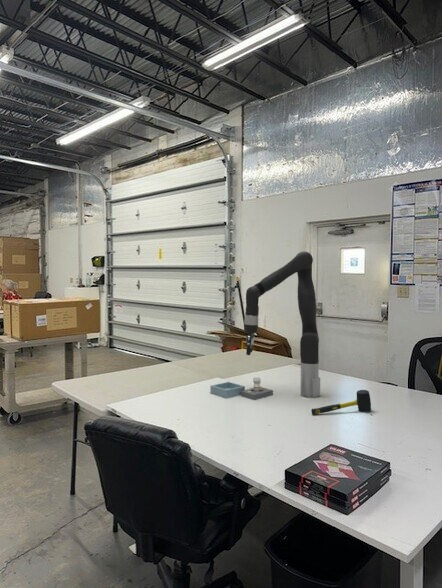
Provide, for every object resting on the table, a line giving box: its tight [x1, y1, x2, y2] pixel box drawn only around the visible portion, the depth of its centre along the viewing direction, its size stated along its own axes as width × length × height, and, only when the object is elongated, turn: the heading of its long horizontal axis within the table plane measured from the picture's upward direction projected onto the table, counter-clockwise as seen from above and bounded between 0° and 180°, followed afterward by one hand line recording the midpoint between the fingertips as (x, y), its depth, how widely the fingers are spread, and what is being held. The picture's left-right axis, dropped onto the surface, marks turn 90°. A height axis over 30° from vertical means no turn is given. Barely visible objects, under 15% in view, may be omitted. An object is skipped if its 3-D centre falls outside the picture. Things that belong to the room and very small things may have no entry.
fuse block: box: [240, 386, 274, 401], centre depth 215 cm, size 10×14×3 cm
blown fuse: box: [252, 377, 262, 393], centre depth 215 cm, size 4×4×9 cm
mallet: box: [311, 389, 372, 416], centre depth 187 cm, size 29×6×10 cm, turn 103°
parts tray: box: [209, 381, 246, 399], centre depth 219 cm, size 13×13×4 cm
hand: (249, 353), depth 221 cm, fingers open, 8 cm apart
